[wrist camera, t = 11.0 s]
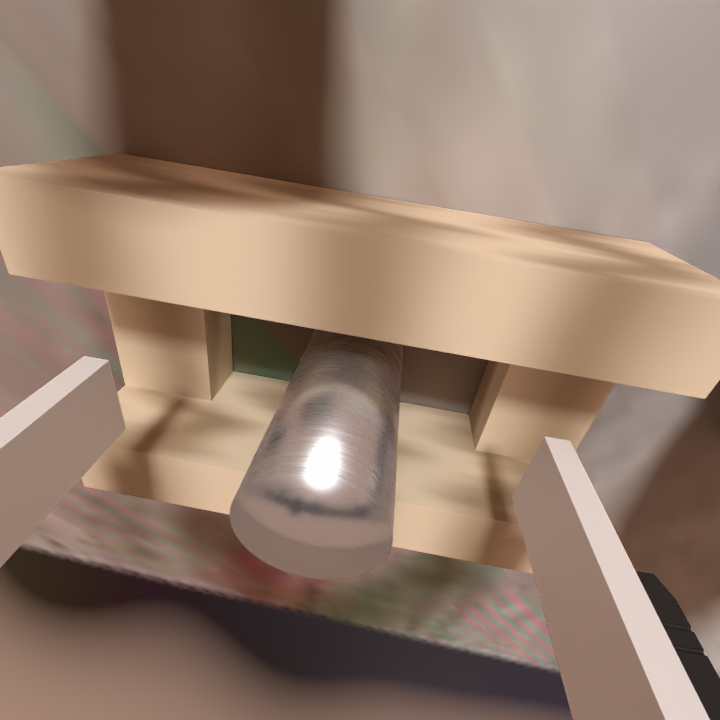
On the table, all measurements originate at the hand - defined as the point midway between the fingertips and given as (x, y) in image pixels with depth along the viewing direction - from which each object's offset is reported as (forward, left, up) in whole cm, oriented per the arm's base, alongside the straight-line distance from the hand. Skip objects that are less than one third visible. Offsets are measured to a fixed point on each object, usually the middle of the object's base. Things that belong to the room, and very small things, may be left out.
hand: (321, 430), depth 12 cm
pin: (0, 0, -7) cm, 7 cm away
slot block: (0, 0, -7) cm, 7 cm away
